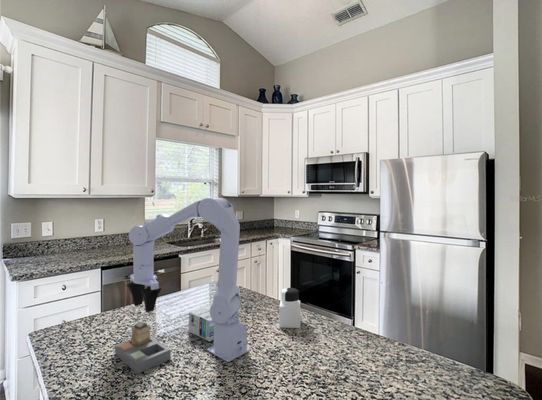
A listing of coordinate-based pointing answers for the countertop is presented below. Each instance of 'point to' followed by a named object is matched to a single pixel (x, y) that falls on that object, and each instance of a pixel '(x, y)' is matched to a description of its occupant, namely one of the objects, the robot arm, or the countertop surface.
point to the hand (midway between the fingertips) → (143, 307)
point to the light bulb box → (202, 323)
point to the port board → (148, 351)
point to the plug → (140, 334)
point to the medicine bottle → (289, 308)
